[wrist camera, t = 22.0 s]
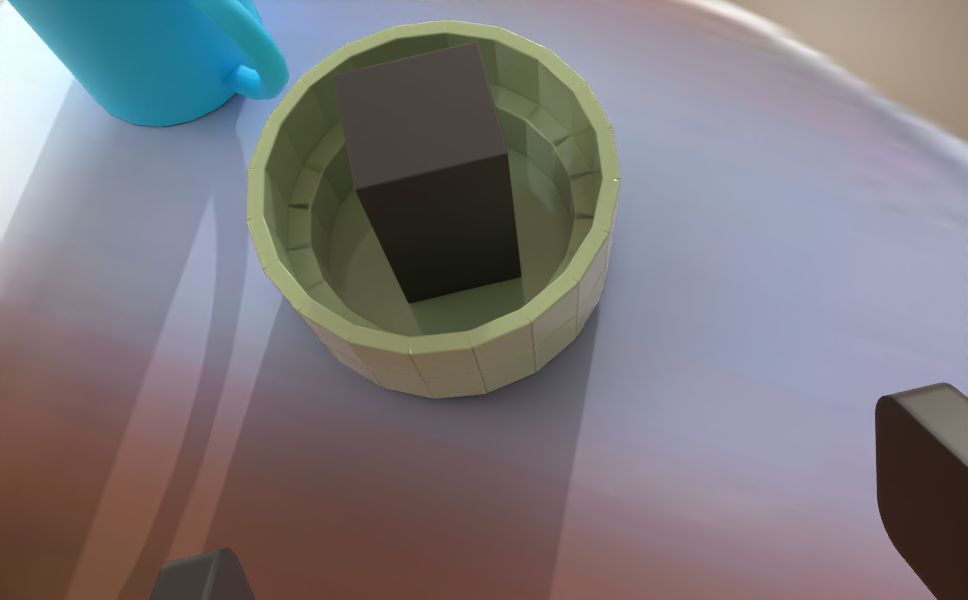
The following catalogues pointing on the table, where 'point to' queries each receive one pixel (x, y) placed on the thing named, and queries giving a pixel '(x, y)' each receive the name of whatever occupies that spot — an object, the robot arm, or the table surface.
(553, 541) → the table surface
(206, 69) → the mug
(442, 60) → the dark rectangular block
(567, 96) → the bowl
